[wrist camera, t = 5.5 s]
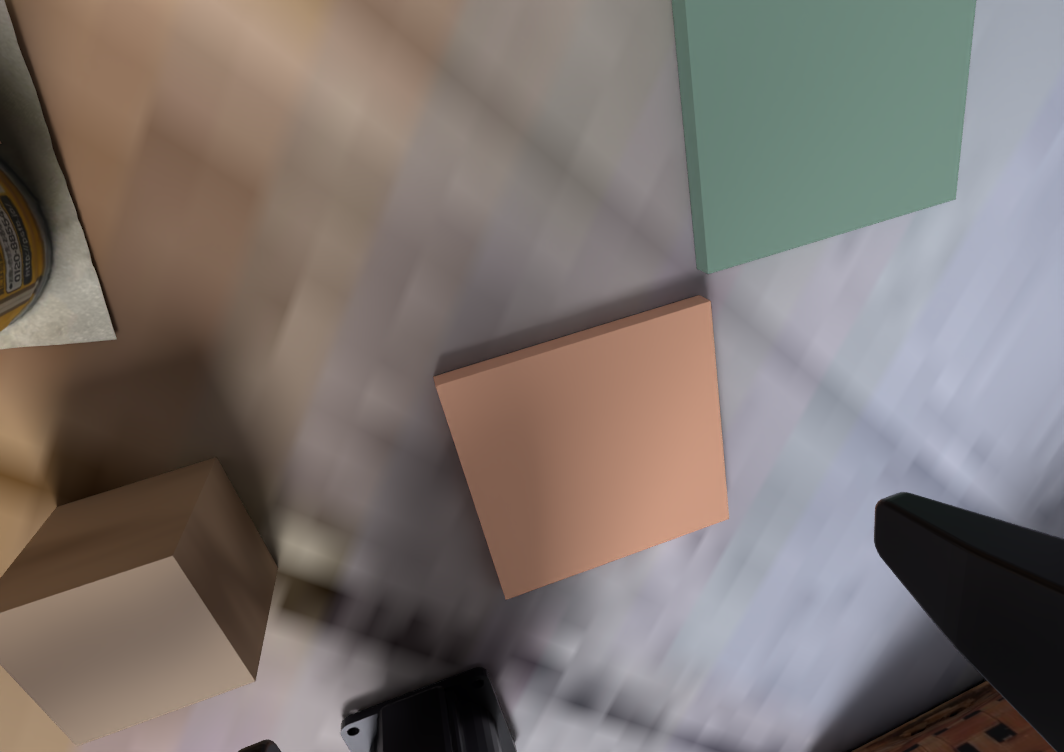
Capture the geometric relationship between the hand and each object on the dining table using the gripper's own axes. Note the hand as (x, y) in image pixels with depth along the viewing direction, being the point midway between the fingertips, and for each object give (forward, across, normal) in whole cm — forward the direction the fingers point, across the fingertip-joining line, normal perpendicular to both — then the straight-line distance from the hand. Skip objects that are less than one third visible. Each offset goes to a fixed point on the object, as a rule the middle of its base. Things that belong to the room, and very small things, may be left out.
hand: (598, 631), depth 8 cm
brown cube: (+13, +12, +4) cm, 18 cm away
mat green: (+13, -14, -4) cm, 19 cm away
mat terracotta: (+13, -3, +6) cm, 15 cm away
